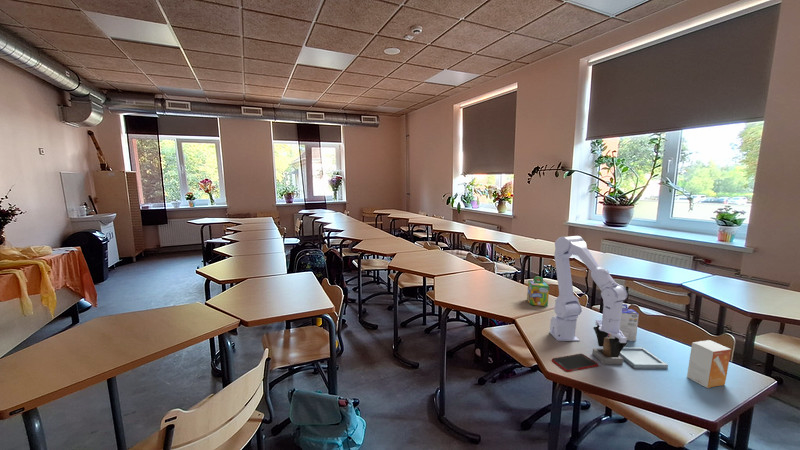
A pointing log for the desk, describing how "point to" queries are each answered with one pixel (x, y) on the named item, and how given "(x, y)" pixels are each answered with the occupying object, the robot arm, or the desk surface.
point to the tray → (641, 358)
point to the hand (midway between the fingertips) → (607, 351)
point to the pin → (607, 347)
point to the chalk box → (538, 292)
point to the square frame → (606, 360)
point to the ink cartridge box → (628, 323)
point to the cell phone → (574, 362)
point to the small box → (708, 363)
